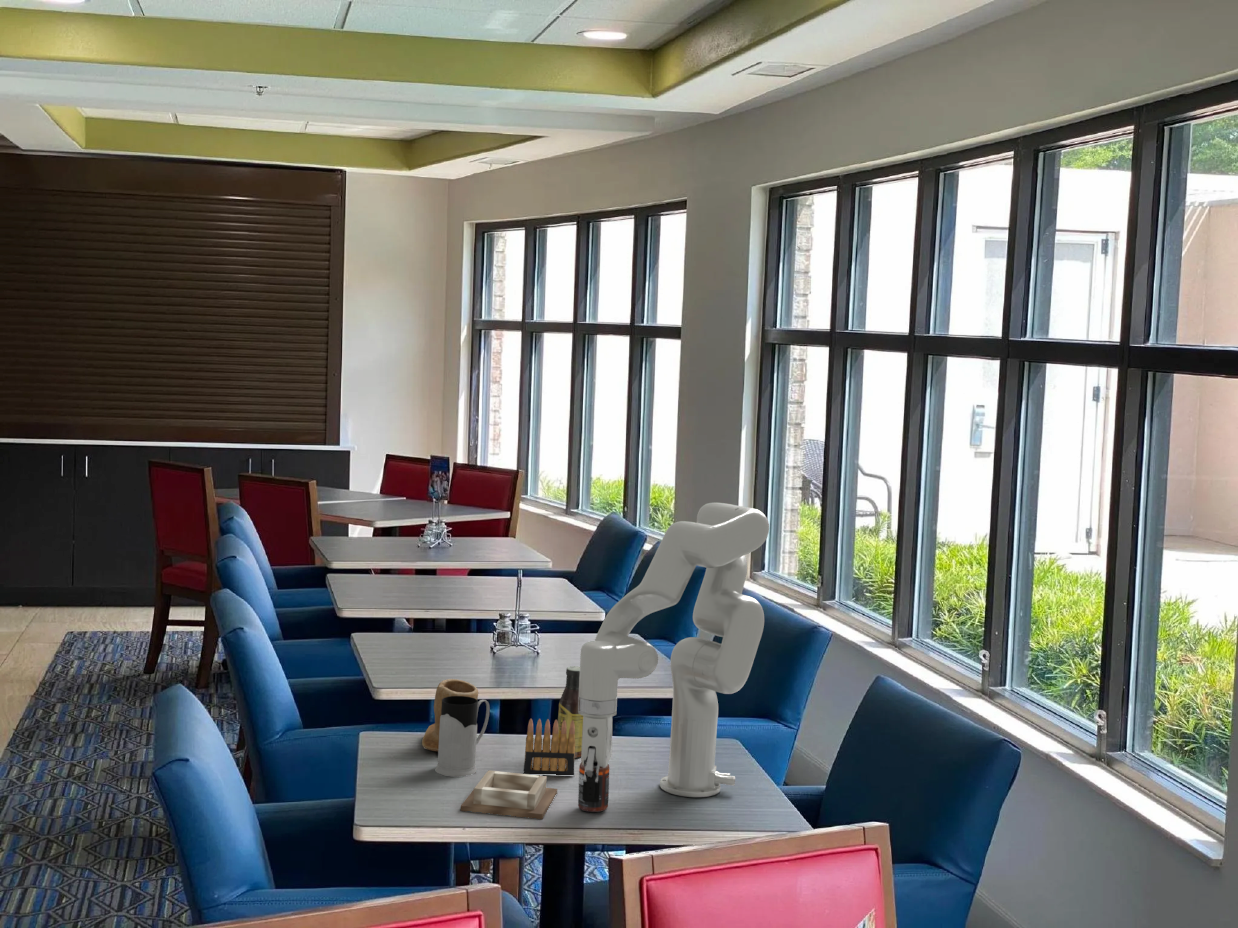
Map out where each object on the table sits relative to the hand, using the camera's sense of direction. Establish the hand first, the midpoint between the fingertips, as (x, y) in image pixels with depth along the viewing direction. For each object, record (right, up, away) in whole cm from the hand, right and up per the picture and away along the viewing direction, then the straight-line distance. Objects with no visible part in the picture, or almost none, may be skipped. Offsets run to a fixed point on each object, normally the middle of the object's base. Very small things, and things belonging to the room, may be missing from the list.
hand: (593, 794), depth 262 cm
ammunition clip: (-10, -1, +21) cm, 23 cm away
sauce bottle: (-6, 0, +36) cm, 36 cm away
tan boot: (-33, +1, +37) cm, 50 cm away
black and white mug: (-28, 0, +22) cm, 36 cm away
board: (-16, -2, +2) cm, 17 cm away
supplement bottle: (0, -3, 0) cm, 3 cm away
